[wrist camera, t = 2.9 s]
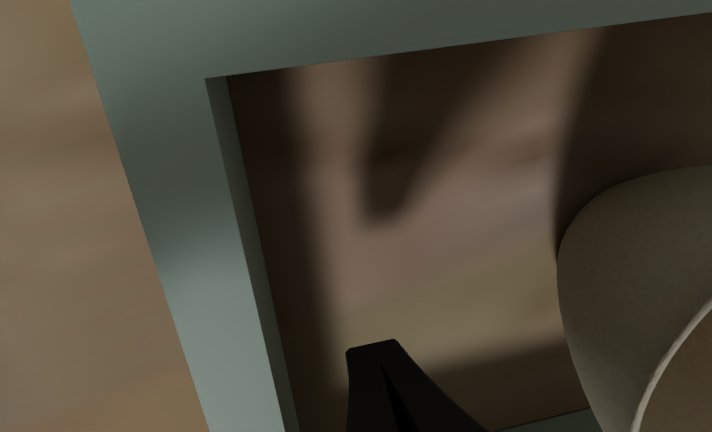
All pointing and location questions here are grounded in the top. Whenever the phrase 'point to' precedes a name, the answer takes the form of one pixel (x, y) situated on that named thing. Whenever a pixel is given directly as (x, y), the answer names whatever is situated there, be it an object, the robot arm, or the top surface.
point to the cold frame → (225, 161)
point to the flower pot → (642, 302)
